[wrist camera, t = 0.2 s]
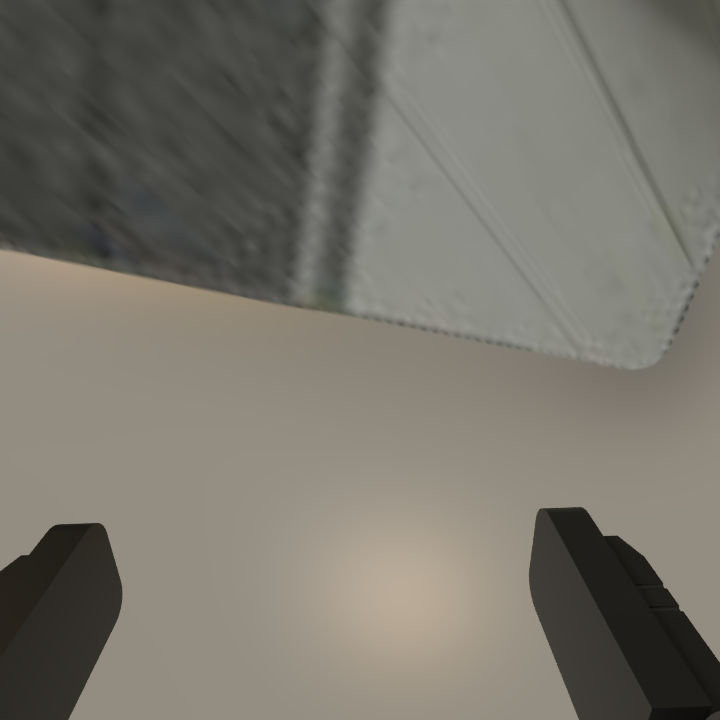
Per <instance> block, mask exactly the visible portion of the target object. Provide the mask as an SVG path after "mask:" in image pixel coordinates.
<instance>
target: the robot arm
mask: <svg viewBox="0 0 720 720" xmlns="http://www.w3.org/2000/svg"><path fill="white" fill-rule="evenodd" d="M529 583H530V591H531V596H532V600H533V604H534V607H535V610H536V612H537V615H538V617H539V620H540V622H541V625H542V627H543V630H544V632H545V635H546V638H547V640H548V642H549V645H550V647H551V650H552V653H553V655H554V658H555V660H556V663H557V665H558V668H559V670H560V673H561V675H562V678H563V680H564V683H565V685H566V688H567V690H568V693H569V695H570V698H571V701H572V703H573V706H574V708H575V710H576V713H577V715H578V718H579V720H720V662H719V661H718V660H717V658H716V657H715V655H714V654H713V653H712V651H711V650H710V648H709V647H708V646H707V644H706V643H705V641H704V640H703V639H702V637H701V636H700V634H699V633H698V632H697V630H696V629H695V627H694V626H693V624H692V623H691V622H690V620H689V619H688V617H687V616H686V615H685V613H684V612H683V611H680V609H679V605H678V604H677V602H676V601H675V599H674V598H673V597H672V595H671V594H670V592H669V591H668V589H664V587H663V582H662V581H661V580H660V578H659V577H658V575H657V574H656V573H655V571H654V570H653V568H652V567H651V566H650V564H649V563H648V561H647V560H646V559H645V557H644V556H642V555H641V554H640V553H639V552H637V551H636V550H635V549H634V548H632V547H631V546H630V545H628V544H627V543H626V542H625V541H623V540H622V539H621V538H619V537H618V536H603V535H602V534H601V532H600V531H599V529H598V527H597V526H596V524H595V523H594V521H593V520H592V518H591V517H590V515H589V513H588V512H587V511H586V510H585V509H584V508H582V507H572V508H543V509H540V510H539V511H538V513H537V516H536V523H535V531H534V538H533V546H532V554H531V561H530V569H529ZM121 604H122V585H121V580H120V577H119V573H118V570H117V566H116V563H115V559H114V556H113V553H112V549H111V546H110V542H109V539H108V535H107V532H106V529H105V528H104V526H103V525H101V524H100V523H87V524H86V523H85V524H59V525H55V526H53V527H52V528H50V529H49V531H48V532H47V533H46V534H45V535H44V537H43V538H42V539H41V540H40V542H39V543H38V544H37V546H36V547H35V548H34V550H33V551H32V552H31V553H30V554H29V555H23V556H20V557H19V558H17V559H16V560H15V561H13V562H12V563H11V564H9V565H8V566H7V567H5V568H4V569H3V570H1V571H0V720H68V719H69V717H70V715H71V713H72V711H73V709H74V707H75V705H76V703H77V701H78V699H79V697H80V695H81V693H82V691H83V689H84V687H85V684H86V682H87V680H88V678H89V676H90V674H91V672H92V670H93V668H94V666H95V664H96V662H97V660H98V658H99V656H100V654H101V652H102V650H103V648H104V646H105V644H106V642H107V640H108V638H109V636H110V634H111V632H112V630H113V628H114V626H115V623H116V621H117V619H118V616H119V613H120V609H121Z"/></svg>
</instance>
